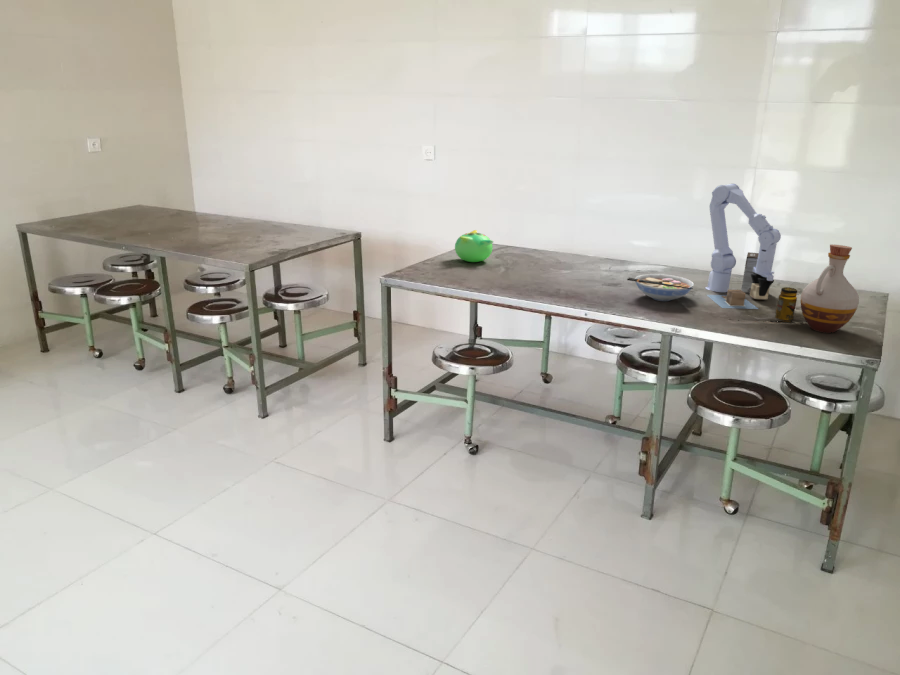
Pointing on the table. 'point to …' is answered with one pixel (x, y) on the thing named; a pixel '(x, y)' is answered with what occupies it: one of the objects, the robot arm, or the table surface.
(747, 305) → the board
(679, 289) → the ramen bowl
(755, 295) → the maple cube
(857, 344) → the table surface
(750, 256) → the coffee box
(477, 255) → the green teapot
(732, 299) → the walnut cube
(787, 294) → the condiment
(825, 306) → the jug
